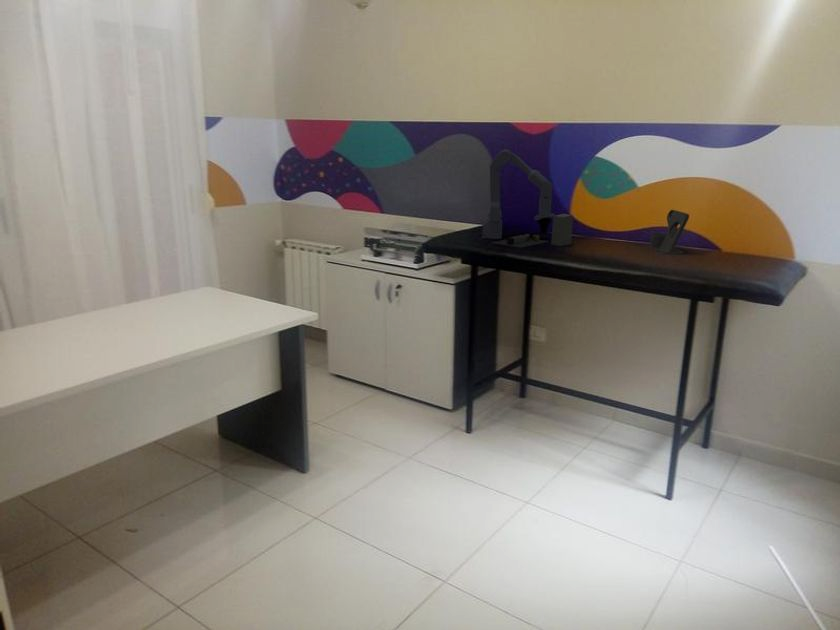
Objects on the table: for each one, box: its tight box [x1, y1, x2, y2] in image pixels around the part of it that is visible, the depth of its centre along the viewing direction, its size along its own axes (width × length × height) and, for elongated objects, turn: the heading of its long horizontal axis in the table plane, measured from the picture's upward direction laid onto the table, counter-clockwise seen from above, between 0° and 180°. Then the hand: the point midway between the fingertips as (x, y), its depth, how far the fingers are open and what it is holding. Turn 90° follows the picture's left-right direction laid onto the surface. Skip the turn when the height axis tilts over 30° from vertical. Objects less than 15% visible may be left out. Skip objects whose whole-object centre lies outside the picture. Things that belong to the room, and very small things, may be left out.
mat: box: [490, 238, 550, 249], centre depth 297 cm, size 18×24×1 cm
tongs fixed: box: [506, 233, 531, 245], centre depth 295 cm, size 3×16×3 cm, turn 135°
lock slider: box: [531, 234, 541, 241], centre depth 300 cm, size 2×3×2 cm
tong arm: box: [508, 234, 527, 245], centre depth 293 cm, size 1×13×3 cm, turn 136°
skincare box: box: [551, 213, 574, 247], centre depth 289 cm, size 8×6×15 cm
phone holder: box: [649, 209, 690, 255], centre depth 279 cm, size 17×10×18 cm, turn 4°
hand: (543, 233), depth 304 cm, fingers closed
